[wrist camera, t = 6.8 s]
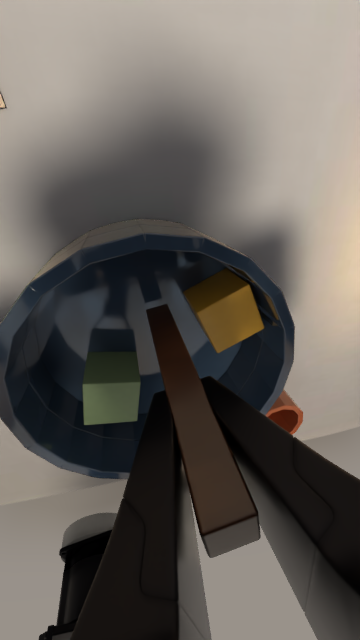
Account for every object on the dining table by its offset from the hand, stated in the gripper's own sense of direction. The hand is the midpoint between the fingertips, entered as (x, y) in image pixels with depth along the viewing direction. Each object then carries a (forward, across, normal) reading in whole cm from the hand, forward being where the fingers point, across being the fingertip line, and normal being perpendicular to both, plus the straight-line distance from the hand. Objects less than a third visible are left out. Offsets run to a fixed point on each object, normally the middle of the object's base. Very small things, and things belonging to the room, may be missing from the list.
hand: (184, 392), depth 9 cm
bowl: (+8, +1, +2) cm, 8 cm away
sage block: (+8, +4, +4) cm, 9 cm away
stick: (+6, 0, 0) cm, 6 cm away
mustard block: (+8, -4, +1) cm, 8 cm away
